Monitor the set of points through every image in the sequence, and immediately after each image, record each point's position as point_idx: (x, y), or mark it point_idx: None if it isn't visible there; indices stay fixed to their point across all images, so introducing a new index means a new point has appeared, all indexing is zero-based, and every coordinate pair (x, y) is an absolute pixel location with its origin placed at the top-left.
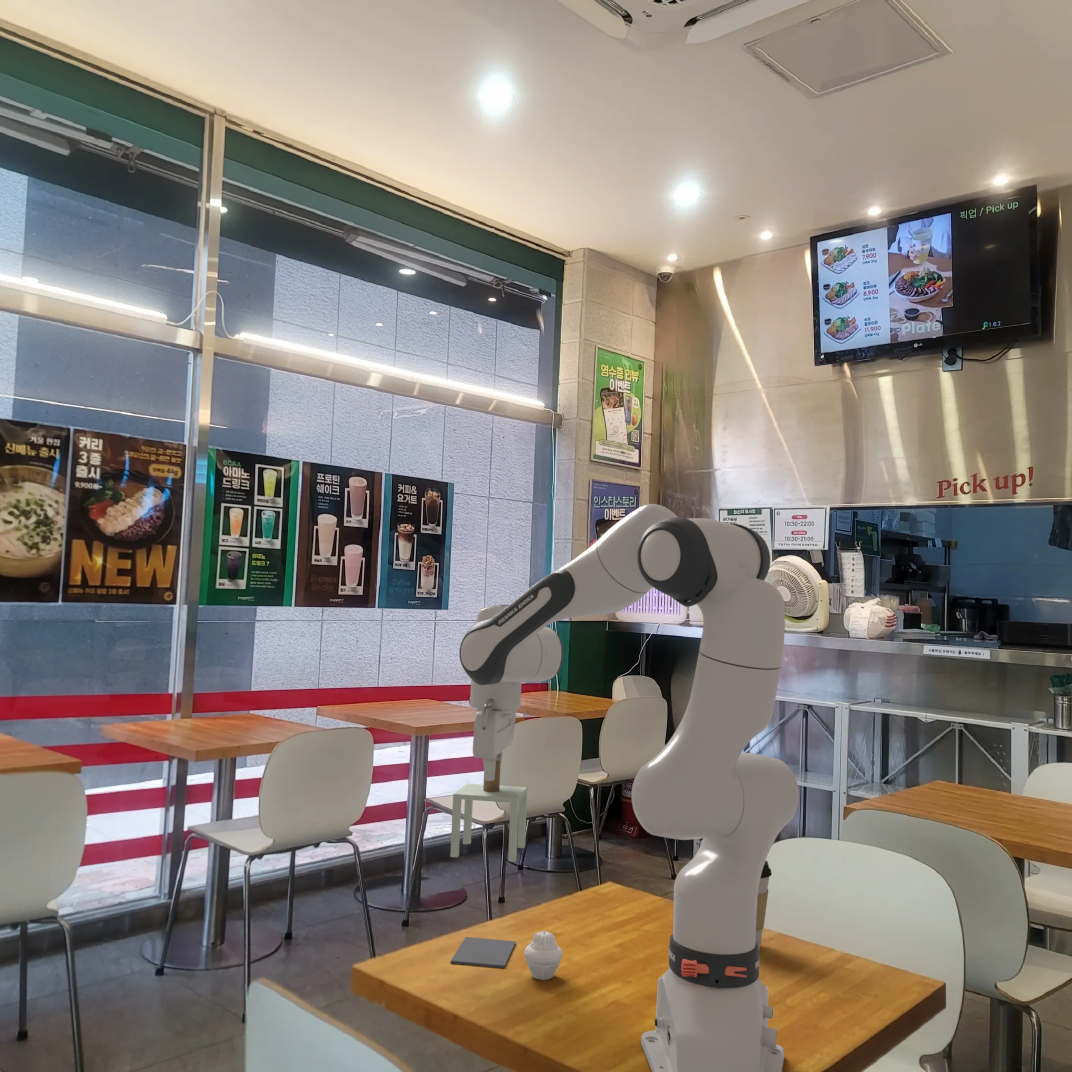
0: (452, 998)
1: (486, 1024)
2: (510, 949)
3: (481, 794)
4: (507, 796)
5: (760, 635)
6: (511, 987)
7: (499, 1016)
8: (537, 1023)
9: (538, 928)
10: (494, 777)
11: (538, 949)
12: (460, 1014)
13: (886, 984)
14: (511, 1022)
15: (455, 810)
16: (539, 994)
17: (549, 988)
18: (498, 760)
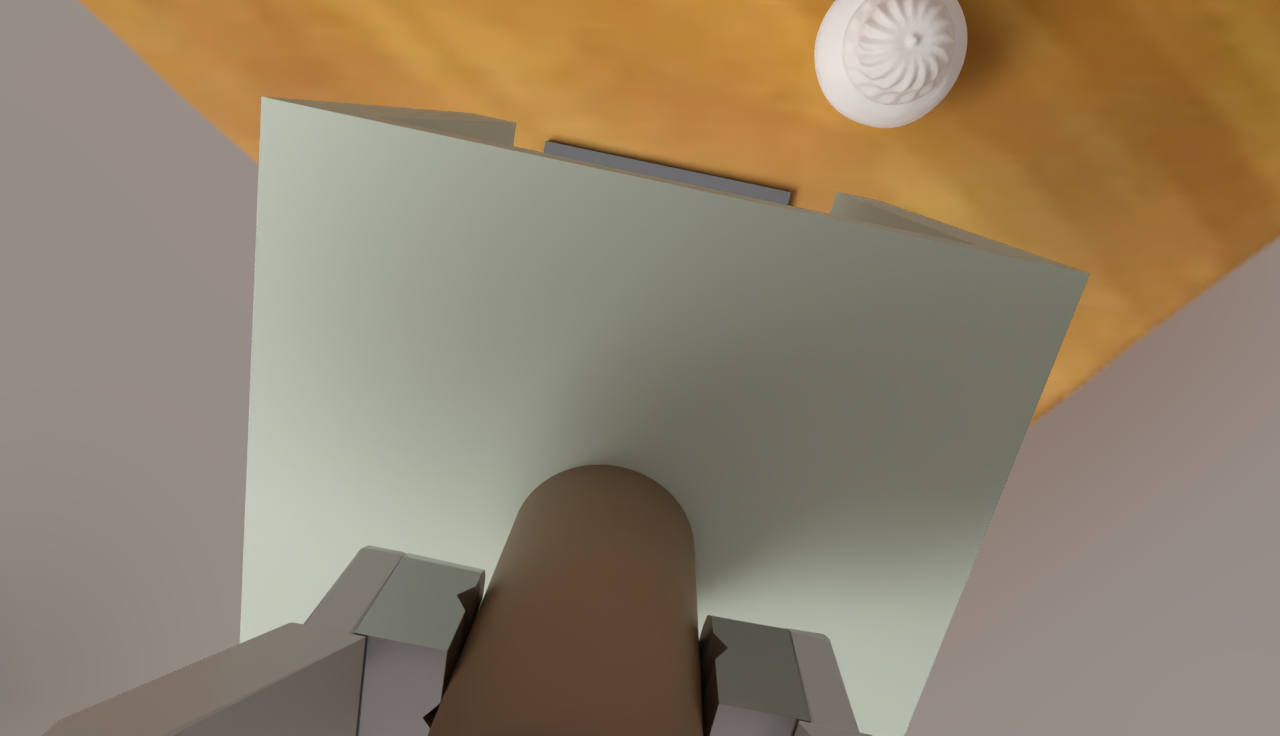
0: None
1: (1228, 260)
2: (634, 164)
3: (857, 650)
4: (971, 391)
5: None
6: (958, 174)
7: (1179, 220)
8: (1254, 103)
9: (360, 37)
10: (832, 652)
11: (946, 72)
12: (1144, 332)
13: None
14: (1229, 185)
15: None
16: (1027, 80)
17: (979, 40)
18: (260, 725)
